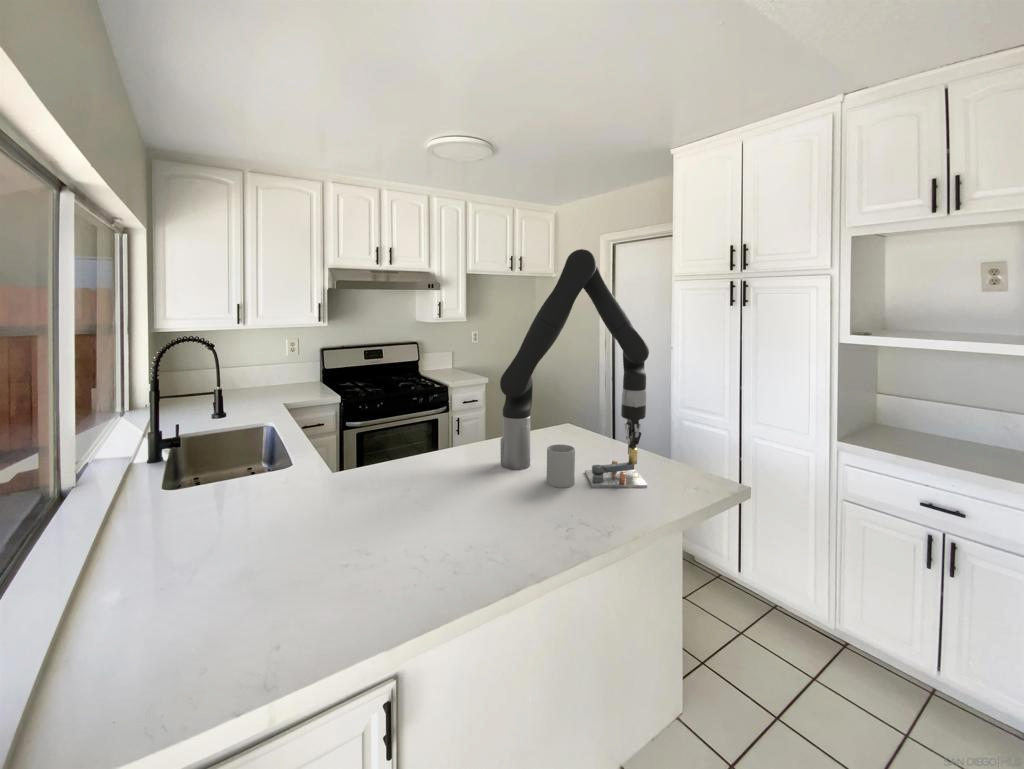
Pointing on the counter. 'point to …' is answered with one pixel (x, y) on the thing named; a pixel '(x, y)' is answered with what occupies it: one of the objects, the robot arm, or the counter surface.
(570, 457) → the mug
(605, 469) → the crank lever
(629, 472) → the crank base
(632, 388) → the robot arm
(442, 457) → the counter surface
